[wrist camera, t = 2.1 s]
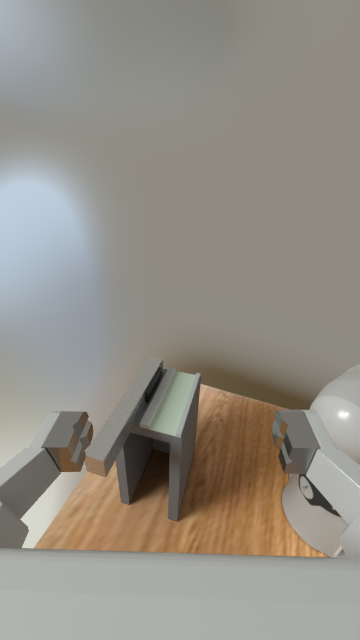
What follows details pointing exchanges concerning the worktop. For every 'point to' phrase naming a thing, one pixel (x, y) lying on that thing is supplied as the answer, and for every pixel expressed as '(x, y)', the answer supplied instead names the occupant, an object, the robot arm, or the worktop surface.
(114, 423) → the brushed metal post
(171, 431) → the tall grey pillar
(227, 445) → the worktop surface
